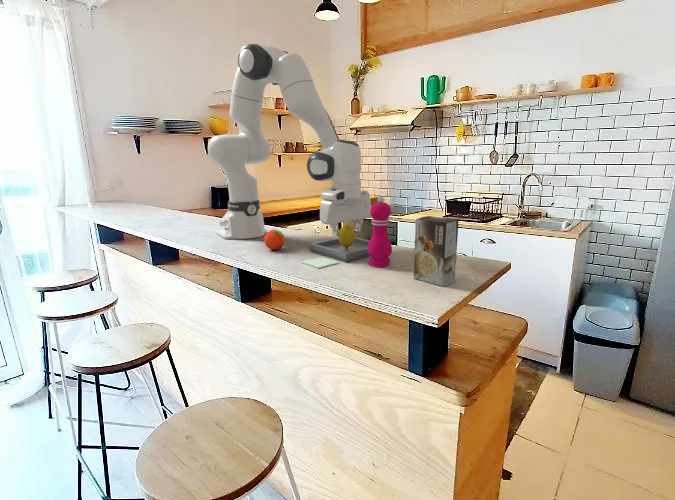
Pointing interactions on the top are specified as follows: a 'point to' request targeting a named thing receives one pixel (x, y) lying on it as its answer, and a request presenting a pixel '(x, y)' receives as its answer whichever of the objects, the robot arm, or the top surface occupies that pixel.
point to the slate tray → (341, 249)
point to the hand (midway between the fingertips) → (346, 234)
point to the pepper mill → (380, 235)
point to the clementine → (274, 239)
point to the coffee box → (435, 250)
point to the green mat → (320, 262)
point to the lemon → (346, 236)
